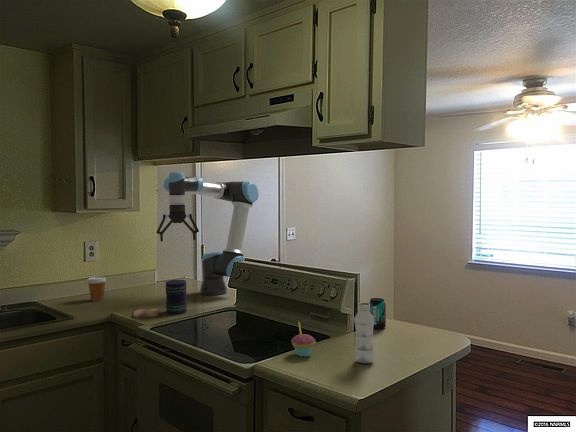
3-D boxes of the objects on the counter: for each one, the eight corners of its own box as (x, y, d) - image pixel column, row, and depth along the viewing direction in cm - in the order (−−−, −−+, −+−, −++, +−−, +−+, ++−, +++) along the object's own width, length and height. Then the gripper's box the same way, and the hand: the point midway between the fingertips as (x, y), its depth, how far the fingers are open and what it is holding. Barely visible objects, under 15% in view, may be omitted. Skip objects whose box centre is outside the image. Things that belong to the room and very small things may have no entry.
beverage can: (389, 328, 209) (389, 299, 208) (377, 330, 205) (376, 302, 204) (377, 324, 215) (377, 296, 214) (365, 327, 211) (365, 298, 210)
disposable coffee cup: (107, 301, 265) (106, 278, 264) (87, 302, 262) (87, 280, 261) (106, 297, 274) (105, 275, 273) (87, 299, 270) (87, 277, 270)
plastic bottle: (372, 366, 164) (372, 307, 163) (352, 364, 167) (352, 305, 165) (376, 360, 170) (376, 302, 169) (357, 358, 173) (356, 301, 171)
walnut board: (158, 310, 242) (158, 308, 242) (157, 316, 233) (157, 313, 233) (135, 312, 240) (135, 309, 240) (133, 317, 230) (133, 315, 230)
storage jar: (191, 311, 241) (190, 280, 240) (176, 316, 233) (175, 284, 232) (177, 308, 246) (176, 279, 245) (161, 313, 238) (160, 282, 237)
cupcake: (287, 355, 176) (286, 322, 176) (299, 348, 183) (299, 316, 183) (307, 360, 171) (307, 325, 171) (320, 353, 179) (319, 320, 178)
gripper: (202, 203, 249) (203, 245, 250) (151, 204, 243) (152, 247, 244) (203, 203, 241) (204, 247, 242) (150, 204, 236) (151, 249, 237)
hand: (178, 247), depth 243 cm, fingers open, 13 cm apart
